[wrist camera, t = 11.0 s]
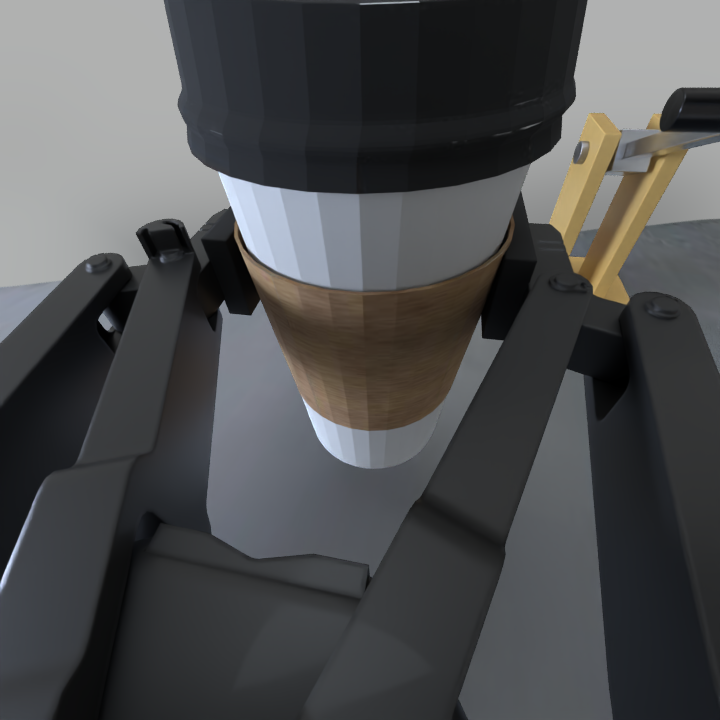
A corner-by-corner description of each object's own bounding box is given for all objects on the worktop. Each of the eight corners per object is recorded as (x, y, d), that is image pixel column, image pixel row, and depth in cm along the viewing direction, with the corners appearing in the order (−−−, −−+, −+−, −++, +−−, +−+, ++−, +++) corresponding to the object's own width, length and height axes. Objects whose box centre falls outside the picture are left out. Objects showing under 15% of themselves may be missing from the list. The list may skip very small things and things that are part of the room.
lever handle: (887, 147, 13) (930, 64, 12) (669, 142, 14) (695, 66, 13) (664, 177, 26) (676, 138, 25) (558, 173, 27) (567, 135, 26)
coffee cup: (339, 333, 22) (302, -44, 11) (483, 381, 19) (632, -61, 8) (250, 448, 17) (5, -33, 6) (426, 536, 14) (618, -68, 3)
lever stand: (636, 340, 30) (772, 153, 19) (507, 327, 31) (569, 148, 21) (605, 269, 36) (694, 102, 26) (499, 262, 38) (544, 101, 27)
